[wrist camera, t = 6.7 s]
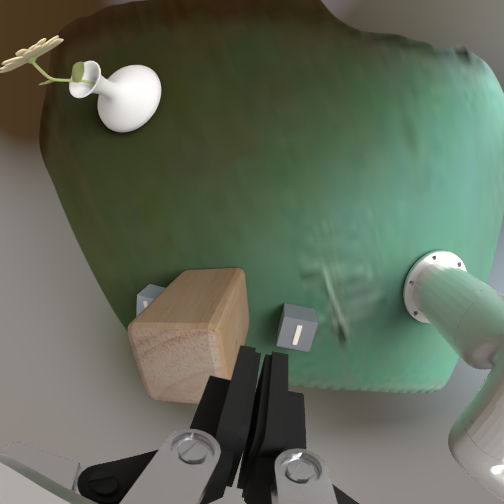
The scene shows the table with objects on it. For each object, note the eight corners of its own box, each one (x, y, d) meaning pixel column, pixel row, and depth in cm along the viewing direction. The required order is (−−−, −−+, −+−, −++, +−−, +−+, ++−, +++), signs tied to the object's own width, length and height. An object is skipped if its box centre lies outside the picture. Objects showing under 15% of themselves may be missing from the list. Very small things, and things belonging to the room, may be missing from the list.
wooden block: (251, 324, 48) (231, 408, 29) (191, 325, 49) (145, 401, 30) (245, 265, 46) (217, 327, 27) (182, 268, 47) (121, 325, 28)
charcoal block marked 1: (315, 308, 46) (318, 323, 41) (307, 335, 48) (309, 352, 43) (284, 302, 47) (284, 317, 42) (277, 330, 48) (276, 346, 43)
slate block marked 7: (177, 290, 48) (166, 303, 43) (175, 317, 49) (164, 331, 44) (149, 283, 48) (136, 294, 43) (148, 310, 50) (135, 323, 45)
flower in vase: (174, 70, 40) (84, -3, 15) (153, 138, 43) (40, 114, 18) (108, 66, 40) (6, 19, 16) (89, 128, 43) (-26, 113, 19)
